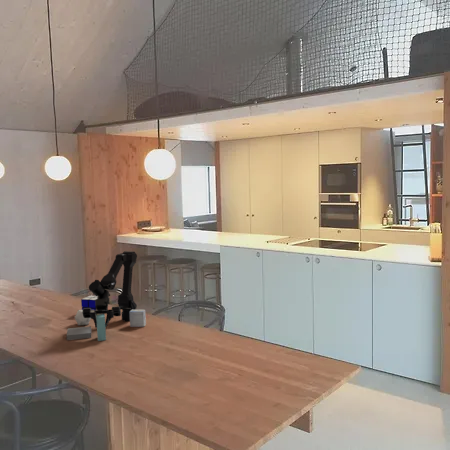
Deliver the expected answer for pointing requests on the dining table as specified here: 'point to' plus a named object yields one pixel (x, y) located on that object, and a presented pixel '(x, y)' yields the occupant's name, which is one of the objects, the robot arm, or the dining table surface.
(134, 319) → the medicine box
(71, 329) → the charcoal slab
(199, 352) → the dining table surface
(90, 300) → the puzzle cube
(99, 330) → the teal block
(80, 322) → the die
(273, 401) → the dining table surface
